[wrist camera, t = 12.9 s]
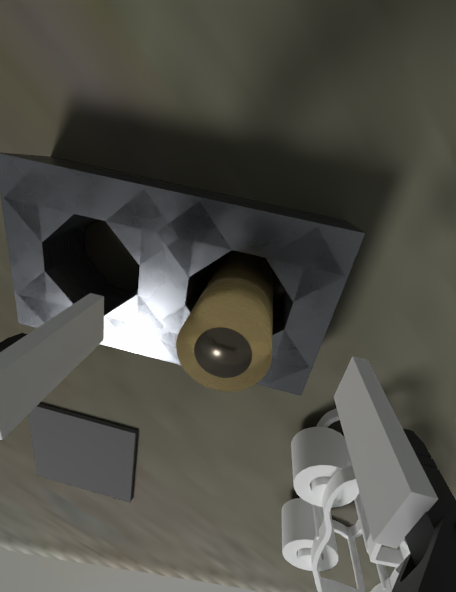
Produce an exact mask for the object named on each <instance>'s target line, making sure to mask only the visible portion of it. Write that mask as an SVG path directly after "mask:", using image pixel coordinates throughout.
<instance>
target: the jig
mask: <svg viewBox="0 0 456 592" xmlns="http://www.w3.org/2000/svg"><path fill="white" fill-rule="evenodd" d="M0 194H1V201H2V208H3V215H4V223H5V230H6V237H7V244H8V251H9V258H10V265H11V272H12V279H13V286H14V293H15V300H16V307H17V314H18V322H19V323H20V324H24V325H28V326H32V327H36V328H38V327H39V326H41V325H42V324H44V323H46V322H47V321H49V320H50V319H52V318H53V317H55V316H56V315H58V314H59V313H61V312H62V311H64V310H65V309H67V308H68V307H70V306H71V305H73V304H74V303H76V302H77V301H79V300H80V299H82V298H83V297H85V296H86V295H88V294H89V293H92V294H96V295H101V296H104V340H103V341H102V342H101V343H100V344H102V345H106V346H110V347H114V348H118V349H122V350H125V351H129V352H133V353H137V354H141V355H145V356H149V357H153V358H157V359H160V360H164V361H168V362H172V363H176V364H180V365H181V363H180V361H179V359H178V356H177V352H176V340H177V336H178V333H179V331H180V329H181V327H182V326H183V324H184V322H185V321H186V319H187V318H188V316H189V314H190V313H191V311H192V309H193V308H194V306H195V304H196V303H197V301H198V300H199V298H200V296H201V295H202V293H203V291H204V290H205V286H204V285H203V284H202V282H201V279H202V273H203V268H204V267H206V266H207V265H209V264H211V263H212V262H214V261H215V260H217V259H219V258H220V257H222V256H223V255H225V254H226V253H228V252H230V251H231V250H234V251H239V252H243V253H247V254H252V255H256V256H260V257H265V258H266V259H267V261H268V263H269V264H270V266H271V267H272V269H273V271H274V272H275V274H276V275H277V277H278V278H279V280H280V282H281V283H282V285H283V286H284V288H285V290H286V292H285V295H284V299H283V301H282V302H280V303H278V304H276V305H274V306H273V329H272V361H271V365H270V368H269V370H268V372H267V373H266V375H265V376H264V377H263V378H262V379H261V380H260V381H259V382H258V383H256V384H258V385H262V386H265V387H269V388H273V389H277V390H281V391H285V392H289V393H293V394H297V395H301V394H302V392H303V389H304V387H305V384H306V382H307V379H308V377H309V374H310V372H311V369H312V367H313V364H314V362H315V359H316V357H317V354H318V351H319V349H320V346H321V344H322V341H323V339H324V336H325V334H326V331H327V329H328V326H329V324H330V321H331V319H332V316H333V313H334V311H335V308H336V306H337V303H338V301H339V298H340V296H341V293H342V291H343V288H344V286H345V283H346V281H347V278H348V276H349V273H350V270H351V268H352V265H353V263H354V260H355V258H356V255H357V253H358V250H359V248H360V245H361V243H362V240H363V238H364V235H365V233H364V232H362V231H361V230H359V229H358V228H356V227H355V226H353V225H352V224H350V223H349V222H347V221H345V220H340V219H336V218H331V217H326V216H322V215H317V214H312V213H308V212H303V211H299V210H294V209H289V208H285V207H280V206H276V205H271V204H266V203H262V202H257V201H252V200H248V199H243V198H239V197H234V196H229V195H225V194H220V193H216V192H211V191H206V190H202V189H197V188H193V187H188V186H183V185H179V184H174V183H169V182H165V181H160V180H156V179H151V178H146V177H142V176H137V175H133V174H128V173H123V172H119V171H114V170H110V169H105V168H100V167H96V166H91V165H86V164H82V163H77V162H73V161H68V160H63V159H59V158H54V157H48V156H35V155H22V154H9V153H0ZM97 219H99V220H103V221H106V223H107V224H108V225H109V226H110V228H111V229H112V230H113V232H114V233H115V234H116V236H117V237H118V238H119V239H120V241H121V242H122V243H123V245H124V246H125V247H126V249H127V250H128V251H129V252H130V254H131V255H132V256H133V258H134V259H135V260H136V262H137V263H138V264H139V265H140V269H139V285H138V289H137V290H135V291H134V292H133V291H129V290H125V289H121V288H117V287H113V286H111V285H110V284H109V283H108V282H107V280H106V279H105V278H104V277H103V275H102V274H101V273H100V272H99V271H98V269H97V268H96V267H95V266H94V264H93V263H92V262H91V261H90V260H89V258H88V257H87V256H86V255H85V235H84V230H85V229H86V228H87V227H89V226H90V225H91V224H92V223H93V222H95V221H96V220H97Z"/></svg>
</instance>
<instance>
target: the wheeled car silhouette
mask: <svg viewBox="0 0 456 592" xmlns="http://www.w3.org/2000/svg"><path fill="white" fill-rule="evenodd" d="M338 420H340V419H339V415H338V411H337V408H336V409H333V410H331V411H329V412H327V413H326V414H325V415H324V416H323V417H322V418H321V419H320V421H319V422H318V424H317V426H316V427H310V428H306V429H304V430H302V431H300V432H298V433H297V434H296V435H295V436H294V437H293V440H292V442H291V450H292V466H293V483H294V489H295V491H296V493H297V495H298V496H299V497H301V498H296V499H292V500H290V501H287V502H286V503H285V504H284V505H283V507H282V551H283V556H284V558H285V559H286V560H287V561H288V562H289V563H290V564H292V565H294V566H296V567H298V568H301V569H304V570H310V571H313V575H314V578H315V585H316V587H317V591H318V592H366V589H365V585H364V580H363V575H362V571H361V566H360V562H359V557H358V552H357V548H356V543H355V539H354V538H357V537H359V536H360V535H361V534H363V538H364V542H365V546H366V550H367V553H369V557H370V561H371V562H373V563H376V565H377V569H378V573H379V577H380V581H381V583H380V584H378V585H376V586H375V587H374V588H373V589H372V591H370V592H392V589H393V587H394V585H395V582H396V580H397V577H398V575H399V573H398V572H397V571H396V568H397V567H398V566H399V565H400V564H401V563H402V562H403V561H404V560H405V558H406V557H407V556H408V555H409V554H410V551H409V548H408V545H407V542H406V540H405V539H404V541H403V542H402V543H401V544H400V545H399V546H398V548H397V550H396V549H391V548H384V547H381V544H378V543H374V542H373V540H372V536H371V532H370V529H369V525H368V521H367V518H366V514H365V510H364V507H363V503H362V499H361V496H360V492H359V488H358V485H357V481H356V477H355V474H354V470H353V466H352V463H351V459H350V455H349V452H348V448H347V444H346V441H345V437H344V436H343V435H342V434H341V433H339V432H337V431H335V430H333V429H330V428H327V427H328V426H329V425H330V424H332V423H333V422H336V421H338ZM353 500H354V501H355V505H356V509H357V513H358V517H359V520H358V521H357V522H356V524H355V525H353V526H351V527H346V526H344V525H343V524H341V523H340V522H338V521H335V520H333V519H332V516H331V512H330V510H331V508H332V507H340V506H343V505H346V504H349V503H350V502H352V501H353ZM334 532H336V533H339V534H340V535H342V536H343V537H345V538H347V539H348V544H349V549H350V554H351V559H352V564H353V569H354V574H355V579H356V584H357V589H358V591H357V590H356V589H354V588H352V587H350V586H347V585H345V584H342V583H340V582H337V581H334V580H329V579H325V578H322V577H321V576H320V572H319V571H323V570H327V569H330V568H332V567H334V566H335V565H336V564H337V562H338V552H337V546H336V540H335V534H334ZM385 565H387V566H393V567H396V568H395V569H394V571H393V573H392V575H391V577H390V578H389V579H388V575H387V572H386V568H385Z"/></svg>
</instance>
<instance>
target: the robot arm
mask: <svg viewBox="0 0 456 592" xmlns="http://www.w3.org/2000/svg"><path fill="white" fill-rule="evenodd" d="M103 340H104V296H101V295H96V294H92V293H89V294H88V295H86V296H85V297H83V298H82V299H80V300H79V301H77V302H76V303H74V304H73V305H71V306H70V307H68V308H67V309H65V310H64V311H62V312H61V313H59V314H58V315H56V316H55V317H53V318H52V319H50V320H49V321H47V322H46V323H44V324H42V325H41V326H39V327H38V328H36V329H35V330H33V331H32V332H30V333H29V334H24V333H21V334H18V335H15V336H12V337H10V338H7V339H5V340H4V341H2V342H1V343H0V440H3V439H4V438H5V437H6V436H7V435H8V434H9V433H10V432H11V431H12V430H13V429H14V428H15V427H16V426H17V425H18V424H19V423H20V422H21V421H22V420H23V419H24V418H25V417H26V416H27V415H28V414H29V413H30V412H31V411H32V410H33V409H34V408H35V407H36V406H37V405H38V404H39V403H40V402H41V401H42V400H43V399H44V398H45V397H46V396H47V395H48V394H49V393H50V392H51V391H52V390H53V389H54V388H55V387H56V386H57V385H58V384H59V383H60V382H61V381H62V380H63V379H65V378H66V377H67V376H68V375H69V374H70V373H71V372H72V371H73V370H74V369H75V368H76V367H77V366H78V365H79V364H80V363H81V362H82V361H83V360H84V359H85V358H86V357H87V356H88V355H89V354H90V353H91V352H92V351H93V350H94V349H95V348H96V347H97V346H98V345H99V344H100V343H101V342H102V341H103ZM334 400H335V404H336V408H337V411H338V415H339V419H340V422H341V426H342V430H343V433H344V437H345V441H346V444H347V448H348V452H349V455H350V459H351V463H352V466H353V470H354V474H355V477H356V481H357V485H358V488H359V492H360V496H361V499H362V503H363V507H364V510H365V514H366V518H367V521H368V525H369V529H370V532H371V536H372V540H373V542H374V543H378V544H381V545H385V546H389V547H392V548H396V549H397V548H398V546H399V545H400V544H401V543H402V542H403V541H404V539H405V540H406V542H407V545H408V548H409V551H410V554H409V555H408V556H407V557H406V558H405V560H404V561H403V562H402V563H401V564H400V565H399V566H398V567H397V568H396V571H397V572H398V573H399V575H398V577H397V580H396V582H395V585H394V587H393V589H392V592H456V500H455V498H454V496H453V495H452V493H451V491H450V489H449V487H448V486H447V484H446V482H445V480H444V478H443V477H442V475H441V473H440V471H439V470H437V466H436V464H435V462H434V461H433V459H431V455H430V453H429V452H428V450H427V448H426V446H425V445H424V443H423V442H422V441H421V440H420V439H419V438H418V436H417V435H416V434H415V433H414V432H413V431H411V430H407V429H403V428H402V426H401V424H400V422H399V421H398V419H397V417H396V415H395V413H394V411H393V409H392V407H391V405H390V403H389V401H388V399H387V397H386V395H385V393H384V391H383V389H382V387H381V385H380V383H379V381H378V379H377V377H376V375H375V373H374V371H373V369H372V367H371V365H370V363H369V362H368V360H366V359H362V358H357V357H353V356H352V358H351V361H350V363H349V365H348V367H347V369H346V371H345V374H344V376H343V378H342V380H341V382H340V384H339V386H338V389H337V391H336V393H335V395H334Z"/></svg>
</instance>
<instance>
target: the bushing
mask: <svg viewBox="0 0 456 592" xmlns="http://www.w3.org/2000/svg"><path fill="white" fill-rule="evenodd" d="M272 329H273V274H272V271H271V268H270V266H269V265H268V263H267V262H266V261H265V260H264V259H263V258H261V257H260V256H256V255H252V254H247V253H243V252H238V253H234V254H231V255H230V256H228V257H226V258H225V259H224V260H223V261H222V262H221V264H220V265H219V267H218V268H217V270H216V272H215V273H214V275H213V277H212V278H211V280H210V281H209V283H208V285H207V286H206V288H205V290H204V291H203V293H202V295H201V296H200V298H199V300H198V301H197V303H196V304H195V306H194V308H193V309H192V311H191V313H190V314H189V316H188V318H187V319H186V321H185V322H184V324H183V326H182V327H181V329H180V331H179V333H178V336H177V340H176V352H177V356H178V359H179V361H180V363H181V365H182V367H183V368H184V370H185V371H186V372H187V373H188V374H189V375H190V376H191V377H192V378H193V379H194V380H196V381H197V382H198V383H200V384H202V385H204V386H206V387H208V388H211V389H215V390H219V391H239V390H244V389H246V388H249V387H251V386H253V385H255V384H256V383H258V382H259V381H260V380H261V379H262V378H263V377H264V376H265V375H266V373H267V372H268V370H269V368H270V365H271V361H272Z"/></svg>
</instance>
